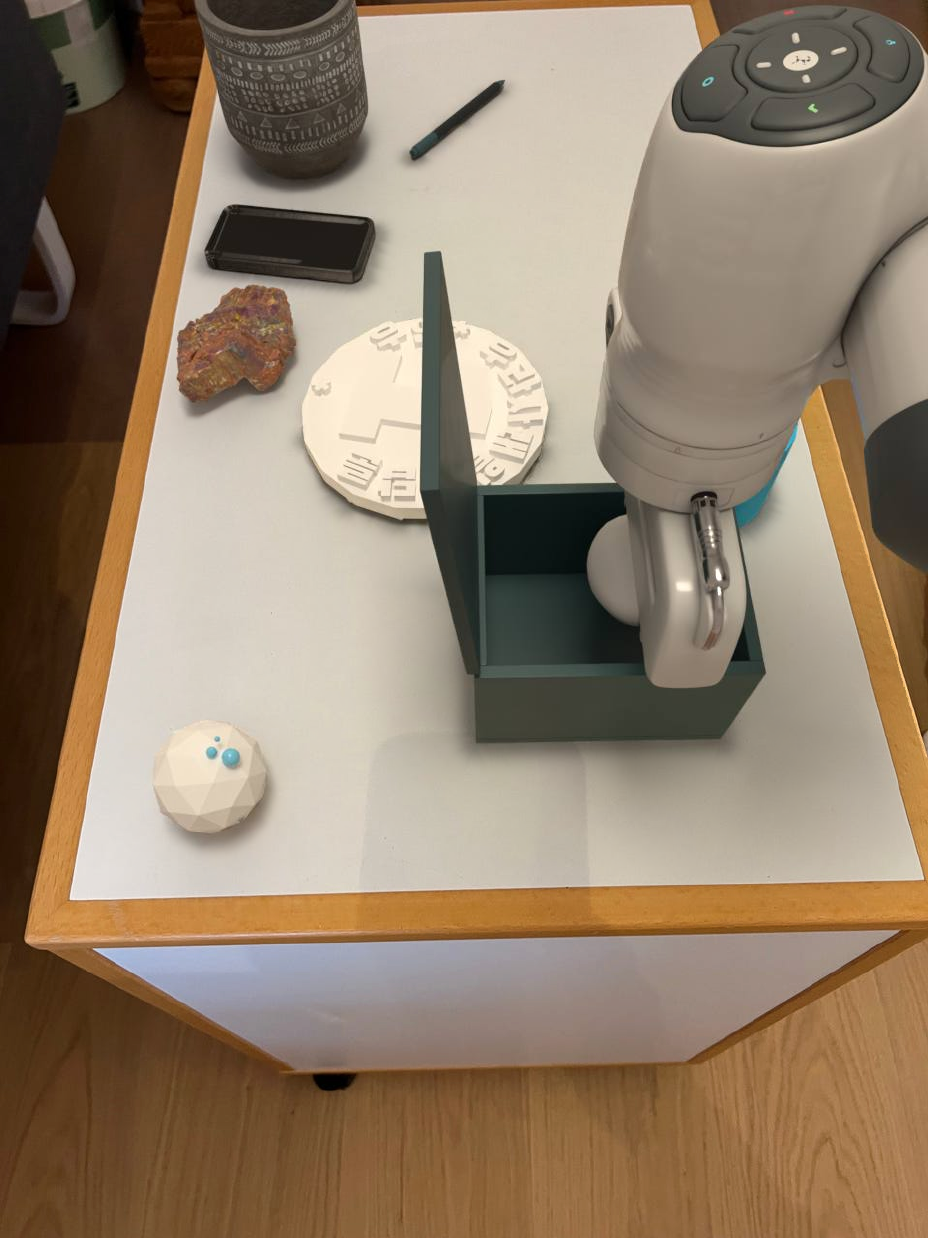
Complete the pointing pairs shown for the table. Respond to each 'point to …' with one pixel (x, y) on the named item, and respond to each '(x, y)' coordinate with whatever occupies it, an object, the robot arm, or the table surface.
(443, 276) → the lid
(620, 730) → the chest
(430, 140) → the pen
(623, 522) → the plain white apple
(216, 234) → the phone
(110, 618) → the table surface
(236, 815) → the ornament
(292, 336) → the mineral specimen
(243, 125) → the planter
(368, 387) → the giant coin
